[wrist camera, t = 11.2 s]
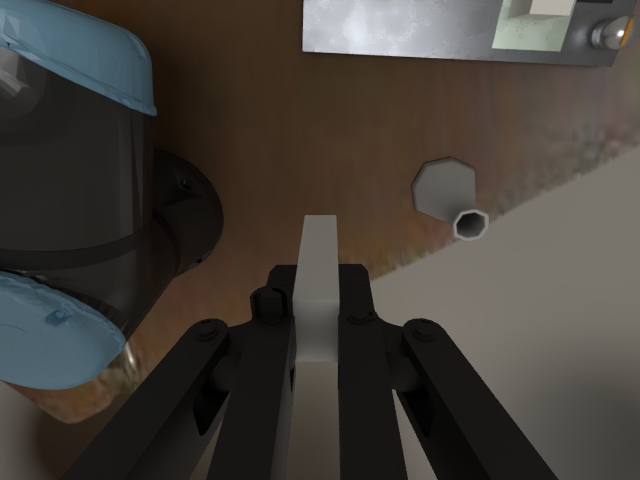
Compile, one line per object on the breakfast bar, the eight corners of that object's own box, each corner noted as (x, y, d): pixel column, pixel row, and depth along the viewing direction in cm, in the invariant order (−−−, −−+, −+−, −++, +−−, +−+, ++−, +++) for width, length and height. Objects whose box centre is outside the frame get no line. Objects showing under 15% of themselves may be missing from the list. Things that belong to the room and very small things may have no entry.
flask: (417, 153, 39) (439, 183, 30) (484, 159, 39) (526, 191, 30) (404, 214, 42) (421, 257, 33) (466, 220, 42) (499, 264, 33)
